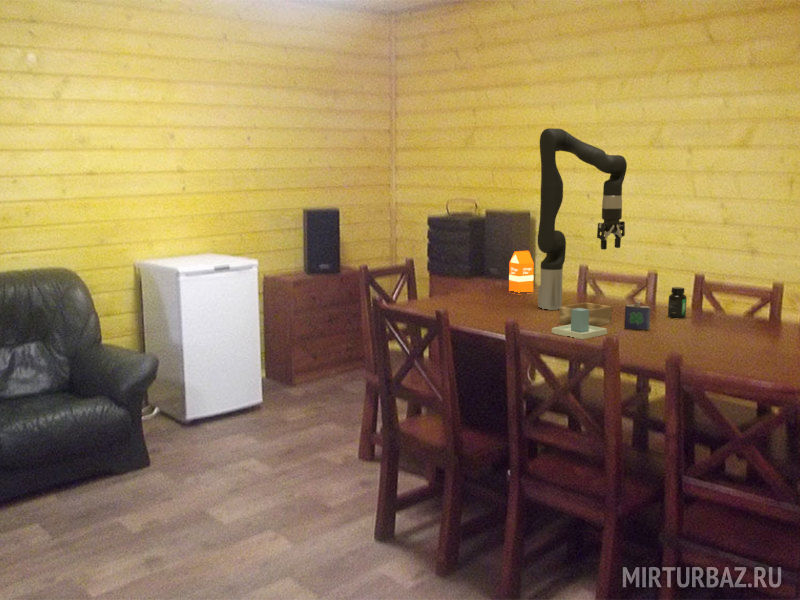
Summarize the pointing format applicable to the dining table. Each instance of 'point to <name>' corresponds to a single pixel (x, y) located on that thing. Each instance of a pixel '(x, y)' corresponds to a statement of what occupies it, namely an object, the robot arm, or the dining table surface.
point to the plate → (567, 331)
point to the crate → (596, 313)
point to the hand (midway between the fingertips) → (610, 248)
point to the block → (580, 320)
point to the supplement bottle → (677, 303)
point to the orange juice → (521, 272)
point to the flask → (637, 317)
